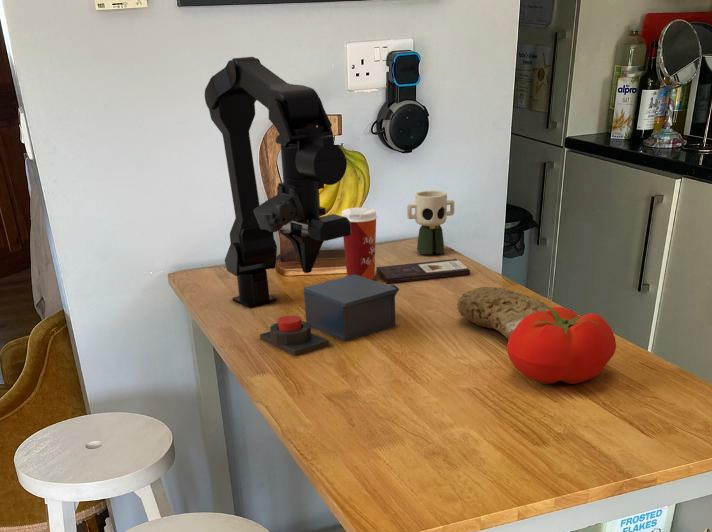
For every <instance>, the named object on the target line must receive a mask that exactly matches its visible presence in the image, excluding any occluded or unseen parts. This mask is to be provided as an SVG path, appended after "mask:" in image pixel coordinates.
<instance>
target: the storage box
mask: <svg viewBox="0 0 712 532" xmlns="http://www.w3.org/2000/svg"><path fill="white" fill-rule="evenodd" d="M303 294H304V295H303V296H304V298H303V299H304V312H305V322H307V323H309V324H310V327H311V329H314V330H315V331H316V330H317V331H319V332H321V333H324V334H326V335H328V336H330V337H333V338H335V339H337V340H340V341H343V342H347V341H350V340H354V339H358V338H360V337H363V336H367V335H369V334H373V333H376V332H379V331H382V330H385V329H389V328H392V327H395V326H396V295H395V293H393V294H390V295H387V296H383V297H380V298H376V299H373V300H369V301H366V302H362V303H359V304H355V305H352V306H348V307H343V306H341V305H338V304H335V303H333V302H330V301H328V300H325V299H323V298H320V297H317V296H315V295H312V294H310V293H307V292H305V291H303Z"/></svg>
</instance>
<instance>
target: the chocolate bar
mask: <svg viewBox="0 0 712 532" xmlns="http://www.w3.org/2000/svg"><path fill="white" fill-rule="evenodd" d="M375 268H376V273H377V274H378V275H379V277H381V279H382V280H383V281H384V282H385V283H386V284H394V283H402V282H403V283H404V282H411V281H420V280H421V281H423V280H430V279H441V278H449V277H457V276H459V277H460V276H467V275H471V270H470V269H469V267H467V266H466V265H464V264H463V263H462V262H461V261H460V260H458V259H457V258H450V259H441V260H432V261H423V262H422V261H421V262H413V263H404V264H403V263H402V264H392V265H383V266H375Z"/></svg>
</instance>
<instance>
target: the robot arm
mask: <svg viewBox="0 0 712 532" xmlns="http://www.w3.org/2000/svg"><path fill="white" fill-rule="evenodd" d="M204 101H205V105H206V107H207V108H208V111H209V116H210V120H211V121H212V122H213V125H215V126H216V128H217V129H218V130H219V132H220V133H221V134H222V139H223V145H224V152H225V159H226V164H227V170H228V177H229V183H230V190H231V197H232V204H233V210H234V215H235V217H234V218H235V219H234V221H233V224H232V226H231V229H230V231H229V242H230V243H229V244H230V245H229V247H228V250H227V252H226V255H225V258H224V264H225V268H226V272H228V273H230V274H232V275H233V276H236V279H237V280H236V281H237V288H238V295H237V296H234V297H232V301H233V302H236V303H238V304H240V305H242V306H244V307H247V308H252V307H255V306H259V305H263V304H267V303H270V302H271V303H272V302H275V301H276V300H277V298H276V297H275V296H273V295H271V294H270V291H269V290H270V289H269V280H268V272H267V270H273V269H276V265H277V255H278V254H277V253H278V244H277V243H276V240H275V235H274V233H276V232H277V233H278V232H279V233H280V234H281V235H283V236H284V237H285V238H287V240H289V241H290V242H291V245H292V247H293V249H294V251H295V254H296V257H297V260H298V263H299V264H300V267H301V269H302V272H303V273H304V274H310V273H311V272H312V271H313V268H314V266H315V262H316V261H317V258H318V255H319V254H320V250H321V248H322V246H323V244H324V242H327V241H330V240H335V239H336V240H337V239H340V238H343V237H344V236H348V235H351V222H350V221H349V220H348V219H347V218H346V217H343V216H342V215H339V214H335V213H333V214H327V215H326V213H327V212H326V207H323V206H321V201H320V200H321V199H320V190H322V189H325V185H327V186H333V185H336V184H338V183H339V182H340V181H341V180H342V179H343V178H344V176H345V174H346V171H347V169H348V168H347V167H348V161H347V157H346V155H345V153H344V151H343V150H342V149H341V147H340V146H338V145H337V144H335V137H334V132H333V130H332V126H333V124H332V122H331V120H330V118H329V116H328V114H327V112H326V109H325V108H324V105H323V102H322V100H321V98H320V96H319V94H318V93H317V91H316V90H315V89H314V88H312V87H310V86H306V85H302V84H293V83H289V82H287V81H286V80H284V79H283V78H281V77H280V76H279V75H277V74H276V73H274V72H273V71H271V70H270V69H269V68H267V66H265V65H263V63H262V62H261V60H260V59H259V58H257V57H255V56H244V57H233V58H231V59H229V60H228V62H227V63H226V65H225V67H224V68H222V69H221V70H219V71H218V72H217V73H215V74H214V75H212V76H211V77H210V79H209V81H208V83H207V85H206V87H205V89H204ZM257 101H258V102H259V103H260V104H261V105H263V106H264V107H265V108H266V109H267V110H268V120H269V121H270V122H271V123H272V125H273V126H274V127H275V130H277V133H278V135H277V136H276V138H275V143H276V144H278V145H279V146H280V155H281V156H280V158H281V168H282V169H281V170H282V182H278V185H277V186H276V191H277V194H275V195H274V196H272V197H270V198H268V199H267V200H266V201H264V202H263V203H262V202H261V204H260V198H259V192H258V186H257V185H258V184H257V179H256V171H255V164H254V157H253V151H252V143H251V136H250V130H251V127H252V124H253V123H254V119H255V116H256V102H257Z"/></svg>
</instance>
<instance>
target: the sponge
mask: <svg viewBox="0 0 712 532" xmlns="http://www.w3.org/2000/svg"><path fill="white" fill-rule="evenodd" d="M550 308H551V307H550V306H549V305H548V304H547V303H545V302H543V301H541V300H539V299H538V298H535V297H533V296H529V295H526V294H523V293H521V292H517V291H515V290H512V289H507V288H504V287H495V286H481V287H476V288H474V289H472V290H468V291H466V292H463V293H462V294H461V296H460V297H459V298H458V300H457V311H458V313H459V314H460V316H461V317H463V318H464V319H465V320H467V321H469V322H471V323H474V324H476V325H477V326H479V327H483V328H487V329H491V330H496V331H498V332H499V333H501V335H503V336H504V337H505V338H506V339H507V341H508V340H509V337H510V336H511V334H512V332H513V331H514V329H515V328H516V326H517V325H518V324H519V323H520V322H521V321H522V320H523V319H524V318H525V317H526V316H528V315H530V314H531V313H533V312H540V311H543V312H546V311H547V310H549V309H550Z"/></svg>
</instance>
